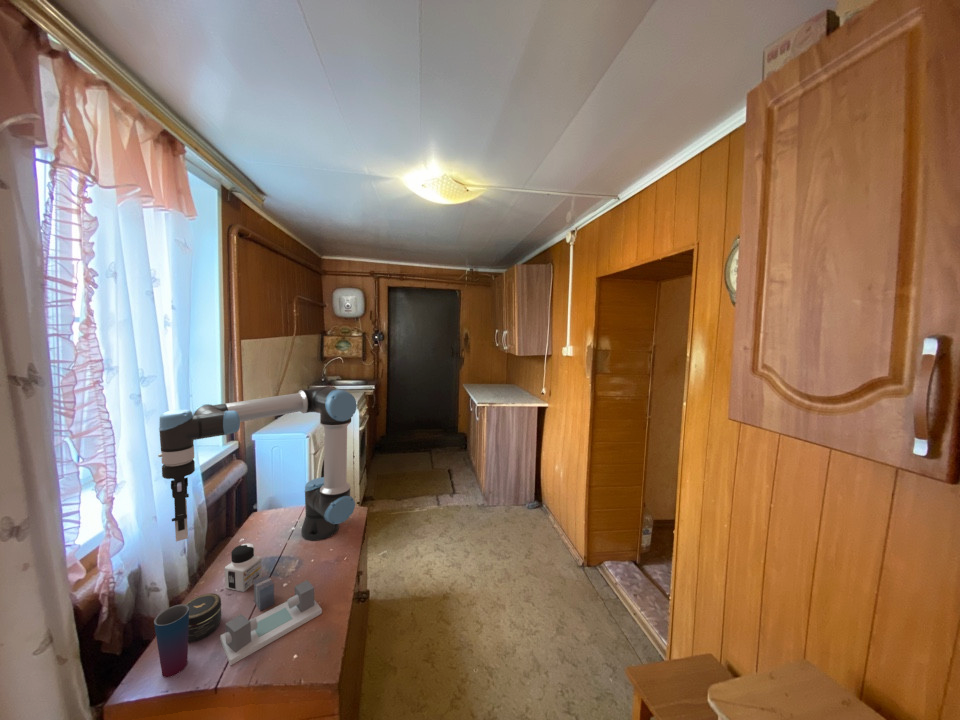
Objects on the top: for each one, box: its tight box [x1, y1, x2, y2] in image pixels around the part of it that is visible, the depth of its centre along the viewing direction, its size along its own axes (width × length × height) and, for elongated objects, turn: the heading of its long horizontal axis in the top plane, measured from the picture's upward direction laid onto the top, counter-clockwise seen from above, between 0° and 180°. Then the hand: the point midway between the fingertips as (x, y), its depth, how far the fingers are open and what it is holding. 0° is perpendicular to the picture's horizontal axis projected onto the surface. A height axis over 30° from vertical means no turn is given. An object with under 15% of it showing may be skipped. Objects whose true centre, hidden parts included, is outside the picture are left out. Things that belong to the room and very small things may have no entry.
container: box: [224, 543, 263, 593], centre depth 122 cm, size 8×8×13 cm
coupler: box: [253, 574, 275, 612], centre depth 114 cm, size 6×4×7 cm
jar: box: [185, 592, 222, 643], centre depth 103 cm, size 10×10×8 cm
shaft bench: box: [219, 579, 323, 666], centre depth 105 cm, size 24×11×8 cm, turn 137°
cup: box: [153, 603, 189, 678], centre depth 91 cm, size 7×7×15 cm
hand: (182, 529), depth 108 cm, fingers open, 13 cm apart
